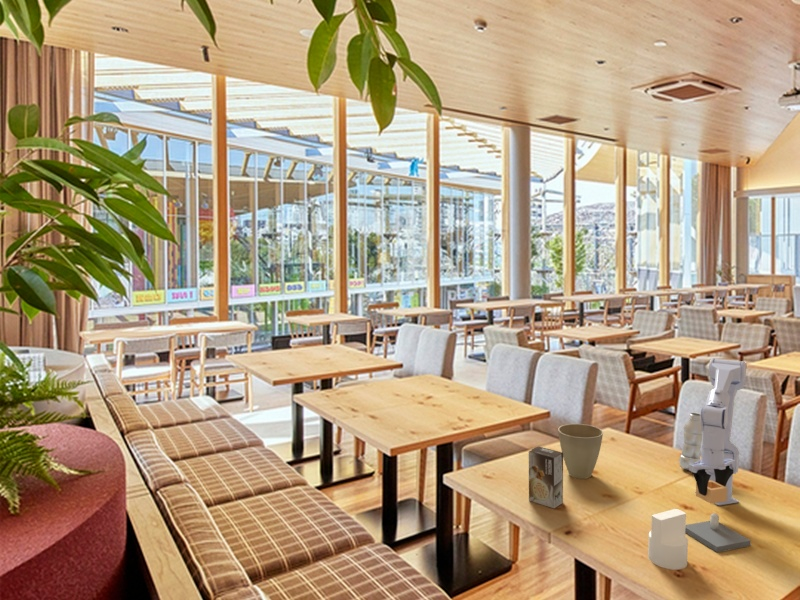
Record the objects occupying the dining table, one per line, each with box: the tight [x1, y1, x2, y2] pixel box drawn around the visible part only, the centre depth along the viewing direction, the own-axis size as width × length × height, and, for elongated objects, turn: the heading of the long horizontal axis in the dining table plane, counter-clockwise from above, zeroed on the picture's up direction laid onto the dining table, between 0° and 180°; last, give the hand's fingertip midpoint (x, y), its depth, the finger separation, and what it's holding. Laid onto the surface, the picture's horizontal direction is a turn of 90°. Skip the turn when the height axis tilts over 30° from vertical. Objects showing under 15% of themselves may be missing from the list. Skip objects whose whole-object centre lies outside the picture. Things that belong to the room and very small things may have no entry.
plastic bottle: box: [678, 412, 702, 471], centre depth 202 cm, size 6×7×20 cm
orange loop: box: [695, 480, 727, 505], centre depth 167 cm, size 6×6×4 cm
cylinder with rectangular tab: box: [647, 508, 689, 571], centre depth 145 cm, size 9×9×12 cm
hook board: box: [685, 512, 752, 553], centre depth 156 cm, size 12×11×6 cm
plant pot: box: [557, 423, 604, 480], centre depth 200 cm, size 15×15×16 cm
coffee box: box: [528, 446, 564, 509], centre depth 179 cm, size 9×6×16 cm
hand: (711, 492), depth 167 cm, fingers closed on orange loop, 6 cm apart
